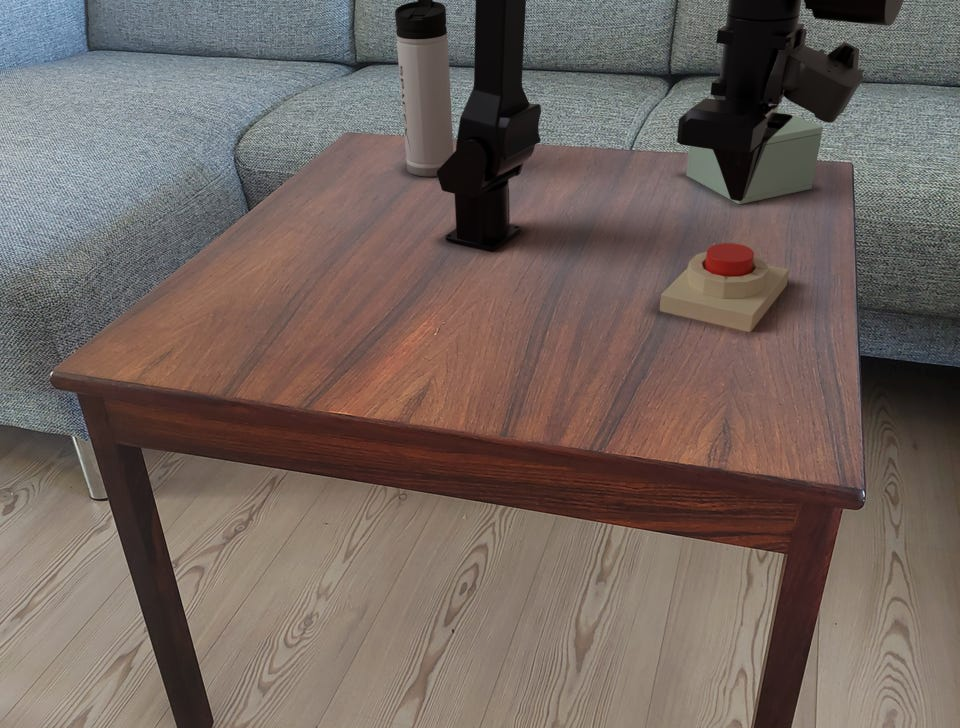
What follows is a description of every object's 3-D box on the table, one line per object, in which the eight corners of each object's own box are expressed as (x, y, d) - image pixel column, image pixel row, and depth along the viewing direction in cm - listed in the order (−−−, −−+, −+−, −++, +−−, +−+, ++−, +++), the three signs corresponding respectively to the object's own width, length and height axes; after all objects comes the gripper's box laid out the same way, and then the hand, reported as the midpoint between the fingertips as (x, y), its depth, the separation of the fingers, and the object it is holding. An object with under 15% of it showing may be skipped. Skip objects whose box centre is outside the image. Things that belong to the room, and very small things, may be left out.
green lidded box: (738, 204, 110) (746, 148, 106) (685, 175, 119) (691, 122, 115) (811, 189, 114) (822, 134, 110) (755, 161, 122) (763, 109, 118)
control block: (750, 332, 86) (755, 298, 84) (659, 311, 90) (662, 277, 88) (786, 285, 93) (792, 252, 91) (700, 267, 97) (704, 236, 95)
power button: (742, 282, 87) (745, 265, 86) (697, 273, 89) (699, 256, 88) (757, 264, 90) (760, 248, 89) (714, 256, 92) (716, 239, 91)
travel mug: (458, 160, 126) (451, -2, 114) (449, 177, 121) (439, 9, 109) (413, 159, 127) (401, -2, 115) (402, 176, 122) (388, 9, 110)
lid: (742, 149, 106) (748, 105, 103) (687, 123, 115) (691, 82, 112) (822, 133, 110) (830, 91, 107) (763, 109, 118) (768, 69, 115)
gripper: (832, 48, 66) (794, 254, 76) (892, -1, 79) (853, 180, 88) (684, 34, 71) (666, 229, 81) (762, -10, 84) (739, 163, 93)
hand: (737, 199), depth 85 cm, fingers closed
